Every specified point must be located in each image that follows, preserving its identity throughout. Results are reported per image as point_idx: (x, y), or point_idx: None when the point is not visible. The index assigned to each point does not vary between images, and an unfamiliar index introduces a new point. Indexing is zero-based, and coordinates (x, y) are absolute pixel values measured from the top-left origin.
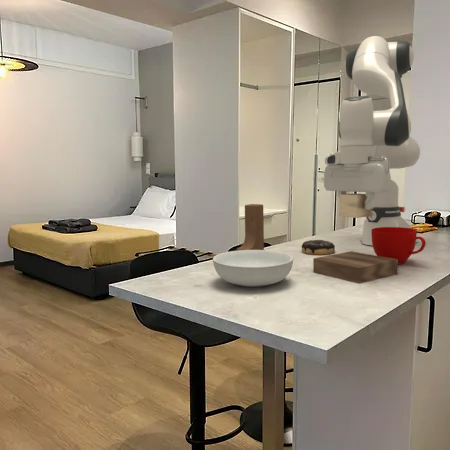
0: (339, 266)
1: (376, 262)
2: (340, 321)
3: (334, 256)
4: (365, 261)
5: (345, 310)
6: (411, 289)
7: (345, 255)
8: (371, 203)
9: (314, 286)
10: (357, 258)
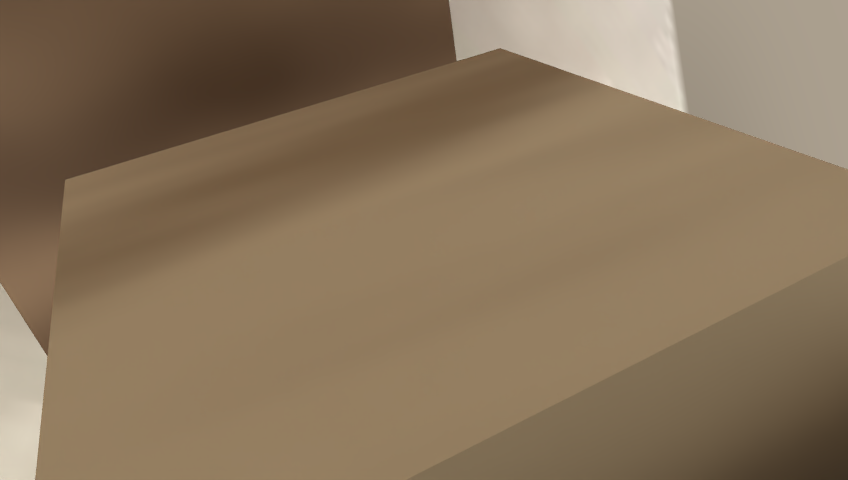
0: None
1: (416, 24)
2: None
3: (43, 206)
4: (349, 78)
5: None
6: (633, 16)
7: (26, 85)
8: (674, 112)
9: None
10: (216, 64)
